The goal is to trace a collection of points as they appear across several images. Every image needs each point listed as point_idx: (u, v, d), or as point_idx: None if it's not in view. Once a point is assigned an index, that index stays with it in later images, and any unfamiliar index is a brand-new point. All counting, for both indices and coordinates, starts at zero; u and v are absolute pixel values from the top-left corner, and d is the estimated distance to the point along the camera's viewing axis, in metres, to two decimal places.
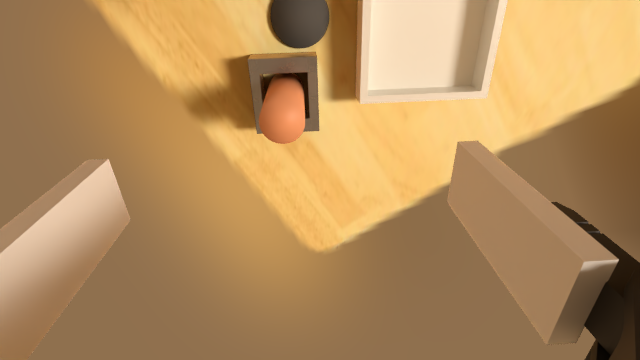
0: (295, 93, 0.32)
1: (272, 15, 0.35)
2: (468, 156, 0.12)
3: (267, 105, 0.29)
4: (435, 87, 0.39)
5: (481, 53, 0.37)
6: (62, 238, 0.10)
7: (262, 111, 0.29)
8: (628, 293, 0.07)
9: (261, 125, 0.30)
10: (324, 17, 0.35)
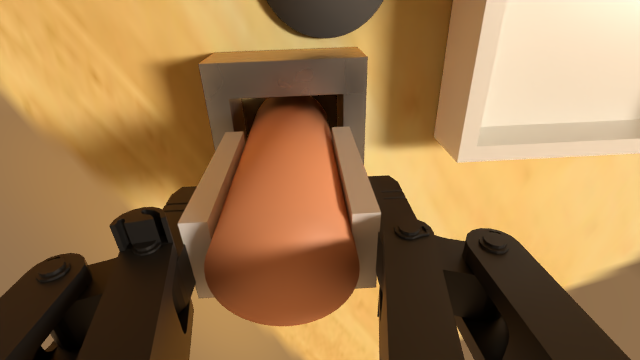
0: (321, 162, 0.11)
1: None
2: (333, 139, 0.14)
3: (231, 229, 0.08)
4: (607, 122, 0.18)
5: None
6: None
7: (214, 246, 0.08)
8: (383, 247, 0.08)
9: (214, 284, 0.09)
10: None
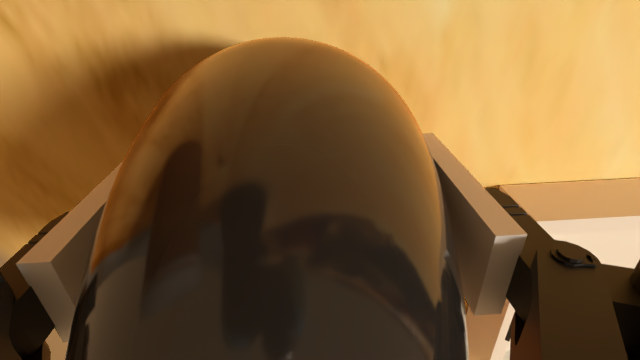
0: None
1: None
2: None
3: None
4: None
5: None
6: None
7: None
8: (534, 267, 0.07)
9: None
10: None
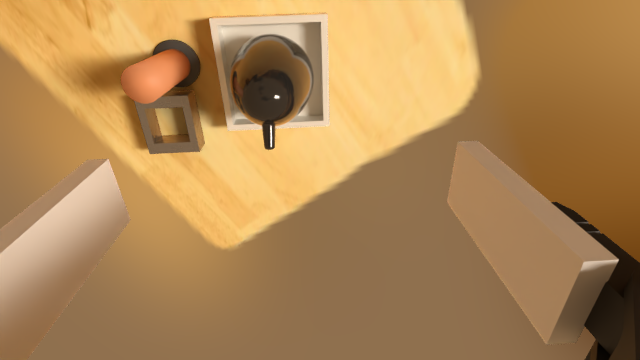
0: (160, 63, 0.38)
1: None
2: (467, 156, 0.12)
3: (126, 69, 0.35)
4: None
5: (322, 91, 0.47)
6: (62, 238, 0.10)
7: (122, 74, 0.35)
8: (629, 293, 0.07)
9: (124, 87, 0.36)
10: (195, 64, 0.45)
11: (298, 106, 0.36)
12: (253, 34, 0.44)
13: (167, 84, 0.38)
